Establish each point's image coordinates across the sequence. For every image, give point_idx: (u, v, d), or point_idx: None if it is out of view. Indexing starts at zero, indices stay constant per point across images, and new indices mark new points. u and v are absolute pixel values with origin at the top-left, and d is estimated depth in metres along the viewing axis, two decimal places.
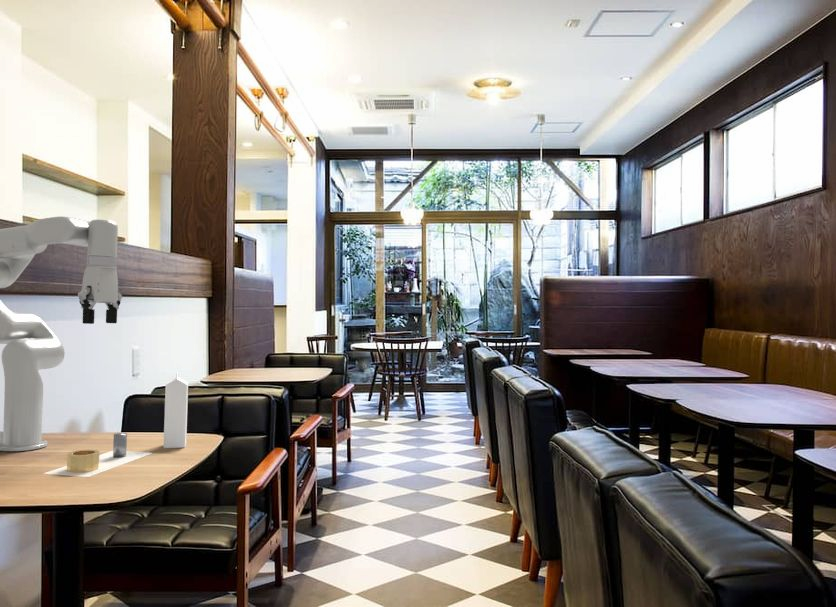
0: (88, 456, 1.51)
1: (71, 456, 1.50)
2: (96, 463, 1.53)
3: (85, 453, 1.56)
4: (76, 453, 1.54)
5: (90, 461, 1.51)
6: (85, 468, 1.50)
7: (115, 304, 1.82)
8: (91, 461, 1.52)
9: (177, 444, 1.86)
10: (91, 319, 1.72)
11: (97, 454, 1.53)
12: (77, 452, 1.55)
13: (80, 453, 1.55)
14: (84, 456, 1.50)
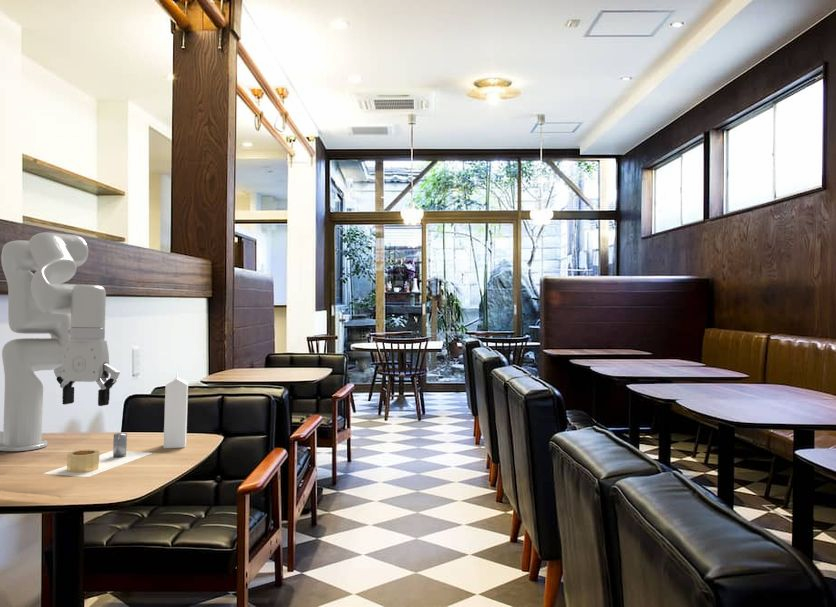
0: (88, 456, 1.51)
1: (71, 456, 1.50)
2: (96, 463, 1.53)
3: (85, 453, 1.56)
4: (76, 453, 1.54)
5: (90, 461, 1.51)
6: (85, 468, 1.50)
7: None
8: (91, 461, 1.52)
9: (177, 444, 1.86)
10: None
11: (97, 454, 1.53)
12: (77, 452, 1.55)
13: (80, 453, 1.55)
14: (84, 456, 1.50)
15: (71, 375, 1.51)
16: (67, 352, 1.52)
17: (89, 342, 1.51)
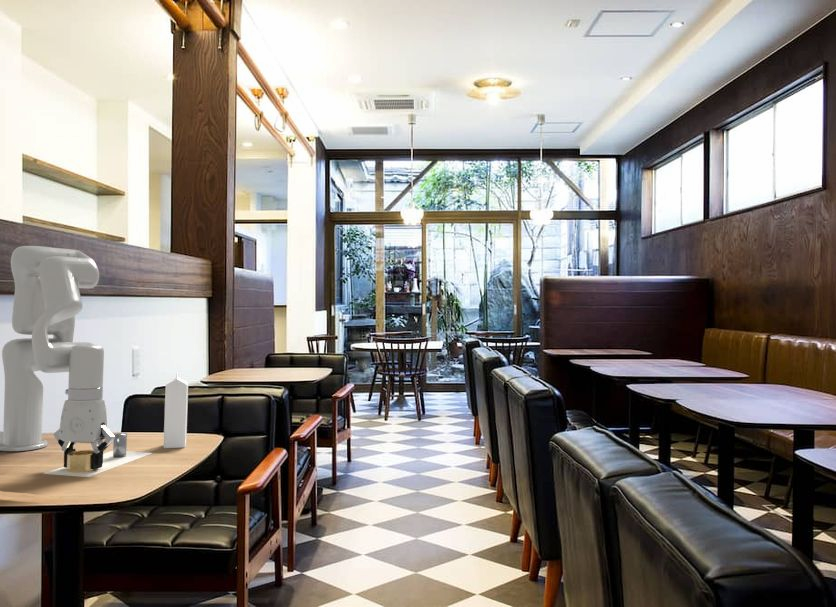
0: (88, 456, 1.51)
1: (71, 456, 1.50)
2: None
3: (85, 453, 1.56)
4: (76, 453, 1.54)
5: (90, 461, 1.51)
6: (85, 468, 1.50)
7: None
8: (91, 461, 1.52)
9: (177, 444, 1.86)
10: None
11: None
12: (77, 452, 1.55)
13: (80, 453, 1.55)
14: (84, 456, 1.50)
15: (69, 436, 1.51)
16: (65, 412, 1.51)
17: (87, 403, 1.51)
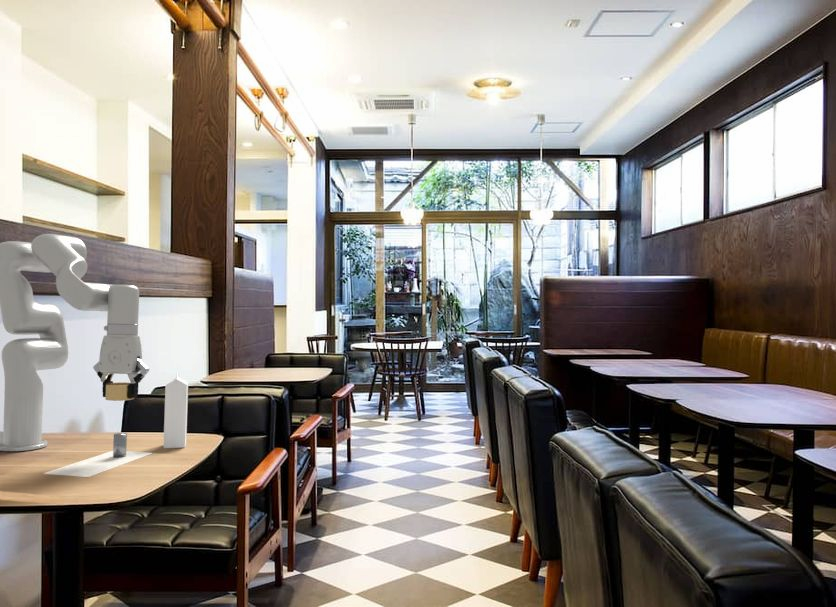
0: (125, 386, 1.65)
1: (110, 385, 1.64)
2: None
3: (121, 385, 1.69)
4: (113, 384, 1.68)
5: (127, 391, 1.65)
6: (122, 397, 1.64)
7: None
8: (127, 391, 1.65)
9: (177, 444, 1.86)
10: None
11: None
12: (114, 384, 1.68)
13: (117, 385, 1.69)
14: (121, 386, 1.64)
15: (107, 368, 1.65)
16: (104, 346, 1.65)
17: (124, 337, 1.64)
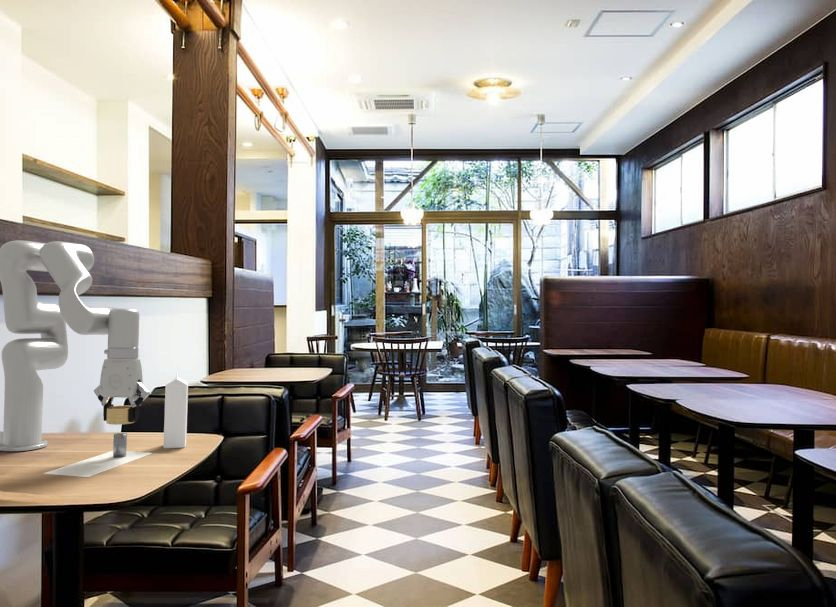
0: (126, 410, 1.65)
1: (111, 409, 1.64)
2: None
3: (122, 408, 1.70)
4: (114, 408, 1.68)
5: (128, 414, 1.65)
6: (123, 421, 1.64)
7: None
8: None
9: (177, 444, 1.86)
10: None
11: None
12: (115, 407, 1.68)
13: (118, 408, 1.69)
14: (122, 409, 1.64)
15: (108, 391, 1.65)
16: (104, 370, 1.65)
17: (125, 361, 1.65)
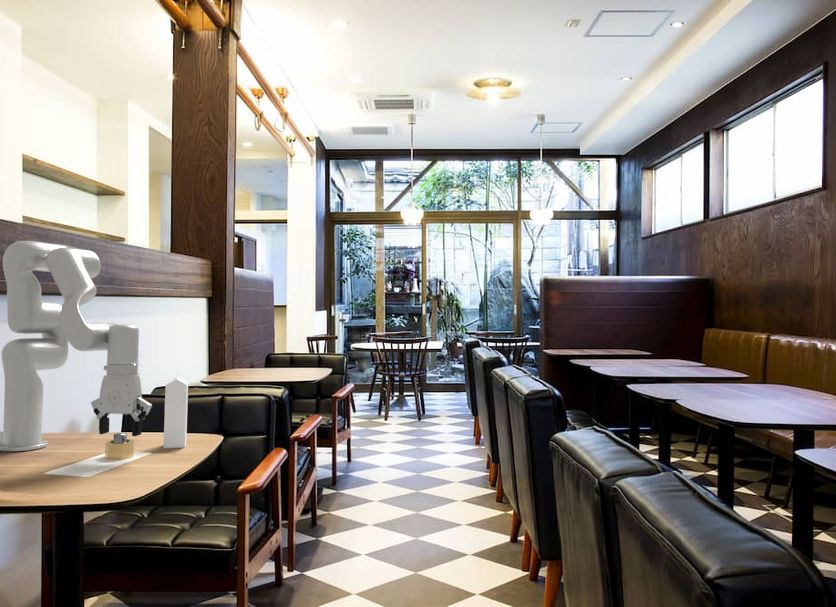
0: (124, 444, 1.65)
1: (109, 444, 1.64)
2: (131, 451, 1.67)
3: None
4: None
5: (126, 449, 1.65)
6: (122, 455, 1.64)
7: None
8: (127, 449, 1.65)
9: (177, 444, 1.86)
10: None
11: (132, 443, 1.67)
12: None
13: None
14: (121, 444, 1.64)
15: (108, 408, 1.65)
16: (104, 386, 1.65)
17: (124, 378, 1.65)
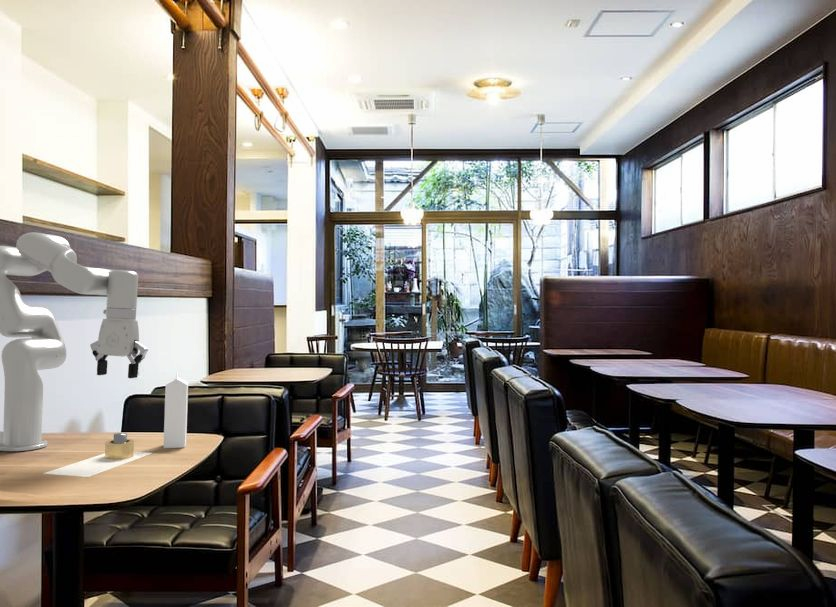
0: (124, 444, 1.65)
1: (109, 444, 1.64)
2: (131, 451, 1.67)
3: None
4: None
5: (126, 449, 1.65)
6: (122, 455, 1.64)
7: None
8: (127, 449, 1.65)
9: (177, 444, 1.86)
10: None
11: (132, 443, 1.67)
12: None
13: None
14: (121, 444, 1.64)
15: (105, 350, 1.70)
16: (103, 329, 1.71)
17: (122, 321, 1.70)
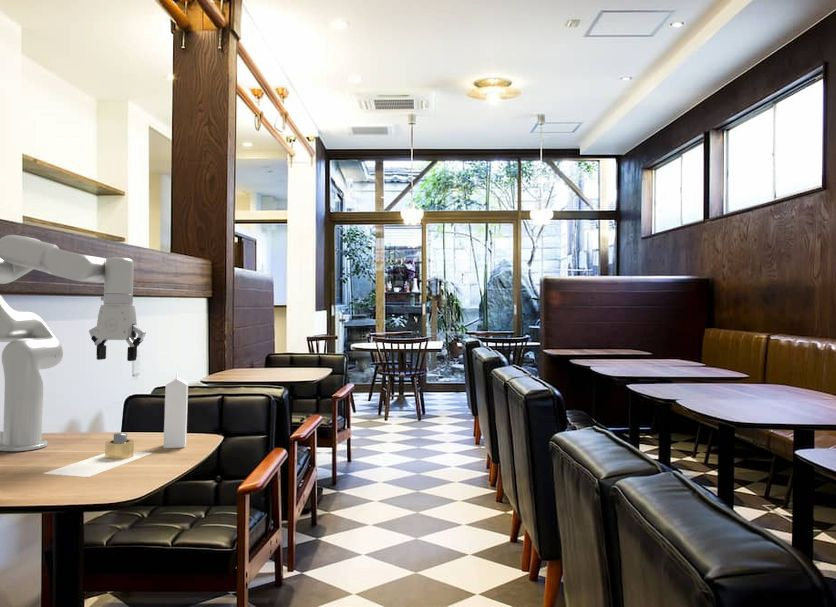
0: (124, 444, 1.65)
1: (109, 444, 1.64)
2: (131, 451, 1.67)
3: None
4: None
5: (126, 449, 1.65)
6: (122, 455, 1.64)
7: None
8: (127, 449, 1.65)
9: (177, 444, 1.86)
10: None
11: (132, 443, 1.67)
12: None
13: None
14: (121, 444, 1.64)
15: (104, 334, 1.76)
16: (101, 314, 1.77)
17: (120, 306, 1.76)
